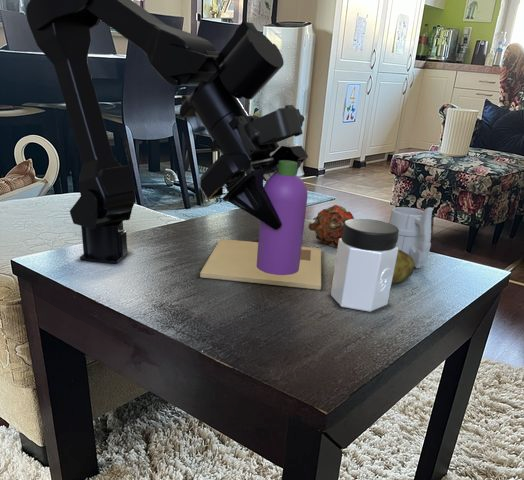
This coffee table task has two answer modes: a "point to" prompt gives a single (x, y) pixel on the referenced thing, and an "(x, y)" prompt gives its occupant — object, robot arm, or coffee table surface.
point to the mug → (413, 232)
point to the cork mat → (245, 268)
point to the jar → (365, 264)
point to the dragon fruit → (330, 224)
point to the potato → (402, 267)
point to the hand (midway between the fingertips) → (291, 223)
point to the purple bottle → (283, 222)
